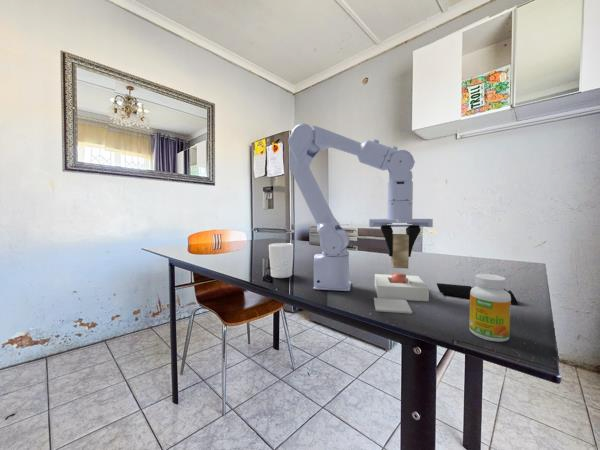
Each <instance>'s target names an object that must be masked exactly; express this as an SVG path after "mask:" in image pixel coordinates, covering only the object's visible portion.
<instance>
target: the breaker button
mask: <svg viewBox="0 0 600 450" xmlns="http://www.w3.org/2000/svg"><path fill="white" fill-rule="evenodd" d="M391 275H392V283H405V284H406V275H407V274H406V273H402V272H393V273H392V274H391Z"/></svg>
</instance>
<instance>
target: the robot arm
mask: <svg viewBox="0 0 600 450" xmlns="http://www.w3.org/2000/svg"><path fill="white" fill-rule="evenodd" d="M287 144H288V149H289V153H288V154H289V155H288V167H289V170H290V172H291V173H292V174H291V175H292V176H293V178H294V180H295V182H296V185H297V187H298V188H299V190H300V192H301V194H302V196H303V199H304V200H305V201H304V202H306V205H307V207H308V209H309V211H310V214H311V215H312V217H313V220H314V221H315V223H316V231H317V234H318V236H319V237H318V238H319V246H320V248H321V250H322V251H321V253H315V254H314V257H313V289H314V290H319V291H320V290H322V291H340V292H343V291H344V292H350V291H351V284H352V282H351V280H350V252H349V251H348V249H347V247H348V245H349V244H350V235H349V233H348V232H347V230H345V229H344V228H343V227H342V226H341V225H340V222H339V221H338V220H337V219H336V218H335V216H334V214H333V213H332V211H331V208H330V206H329V204H328V203H327V200H326V198H325V196H324V194H323V192H322V189H320V185H319V184H318V182H317V180H316V177H314V173H313V172H312V170H311V168H310V166H311V164H312V162H313V159H314V158H315V157H316V155H318V153H319V152H320V151H325V150H328V149H329V148H330V149H331V148H332V149H335V150H338V151H342V152H345V153H347V154H351V155H354V156H357V159H358V160H359V162H360V163H361V164H365V165H367V166H370V167H371V168H372V167H373V168H375V169H377V170H381V171H388V182H387V218H369V219H368V228H374V227H375V228H377V227H378V228H380V230H381V233H382V235H383V237H384V239H385V242H386V247H387V251H388V256H389V257H390V258H391V257H393V248H392V237H393V234H394V229H393V228H397V227H398V228H402V227H403V228H405V227H406V228H405V234H407V235H409V258H410V257H411V256H412V251H413V247H414V244H415V243H416V240H417V238H418V237H419V234H420V233H421V229H422V228H433V227H434V226H433V225H434V223H433V221H434V220H433V218H413V202H414V201H413V198H414V197H413V196H414V195H413V194H414V190H413V189H414V187H413V186H414V182H413V171H412V169H413V168H414V166H415V162H416V161H415V158H414V157H413V155H412V153H411V152H410V151H408V150H406V149H400V150H399V149H398V147H397V146H396V145H395V146H393V147H391V146H388V145H384V144H382V143H380V141H379V140H378V139H376V138H374V139H373V140H369V139H368V140H365V141H364V142H359V141H356V140H354V139H351V138H349V137H346V136H344V135H341V134H338V133H336V132H333V131H331V130H329V129H325V128H323V127H319V126H317V125H312V126H311V125H309V124H307V123H305V122H304V123H298V124H296V125H295V126H294V127H293V129H292V130H291V131H290V135H289V137H288V139H287Z"/></svg>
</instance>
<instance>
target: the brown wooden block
mask: <svg viewBox="0 0 600 450" xmlns="http://www.w3.org/2000/svg"><path fill="white" fill-rule="evenodd" d="M392 248H393V257H391V256H390V260H391V262H390V265H391V267H392V268H393V269H409V258H410V257H409V235H407V234H406V233H393V237H392Z"/></svg>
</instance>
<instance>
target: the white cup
mask: <svg viewBox="0 0 600 450" xmlns="http://www.w3.org/2000/svg"><path fill="white" fill-rule="evenodd" d="M268 256H269V267H270V276H271V277H272V278H277V279H284V278H289V277H292V275H293V262H294V244H293V243H288V242H275V243H274V242H273V243H269V244H268Z"/></svg>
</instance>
